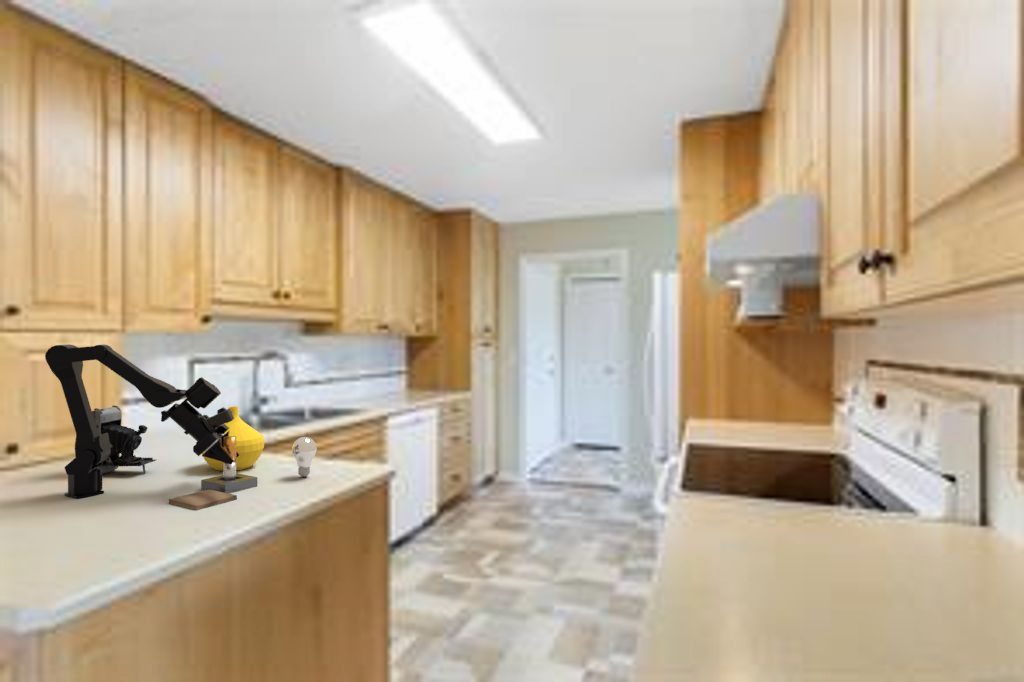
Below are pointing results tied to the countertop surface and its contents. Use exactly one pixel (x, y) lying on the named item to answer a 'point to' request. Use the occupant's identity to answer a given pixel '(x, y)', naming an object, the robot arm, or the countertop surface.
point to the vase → (241, 443)
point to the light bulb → (304, 454)
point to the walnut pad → (202, 499)
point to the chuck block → (229, 483)
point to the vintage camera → (119, 440)
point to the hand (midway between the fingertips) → (235, 459)
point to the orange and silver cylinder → (230, 448)
